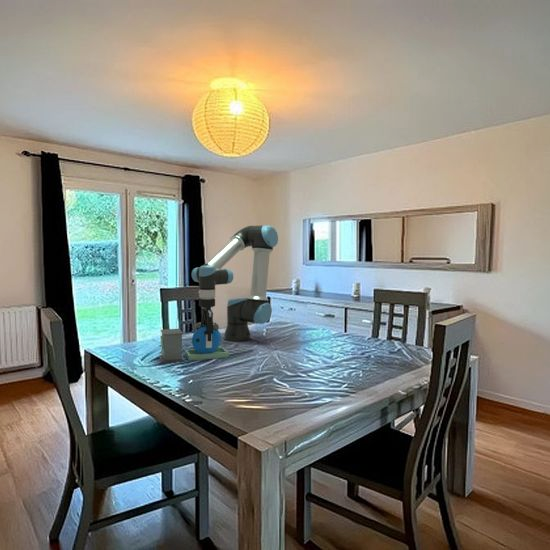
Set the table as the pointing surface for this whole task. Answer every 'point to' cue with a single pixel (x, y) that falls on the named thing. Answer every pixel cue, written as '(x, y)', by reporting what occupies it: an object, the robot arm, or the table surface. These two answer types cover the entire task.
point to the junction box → (171, 346)
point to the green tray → (195, 355)
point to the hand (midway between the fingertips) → (207, 345)
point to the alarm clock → (200, 338)
